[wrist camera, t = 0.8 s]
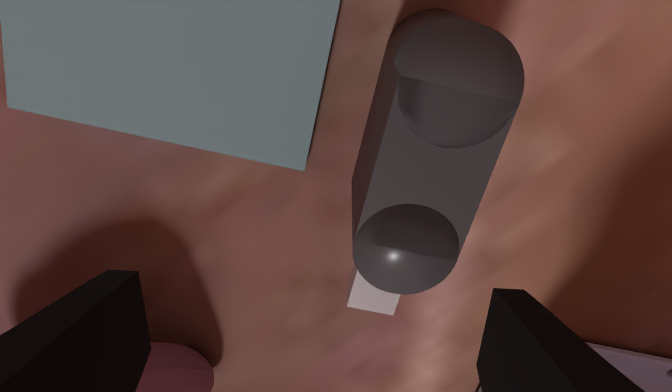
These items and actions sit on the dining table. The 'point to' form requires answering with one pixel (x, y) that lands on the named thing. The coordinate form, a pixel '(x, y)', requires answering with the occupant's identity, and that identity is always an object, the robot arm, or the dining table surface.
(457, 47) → the connector plug
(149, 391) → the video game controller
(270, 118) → the rubber mat
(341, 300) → the dining table surface
